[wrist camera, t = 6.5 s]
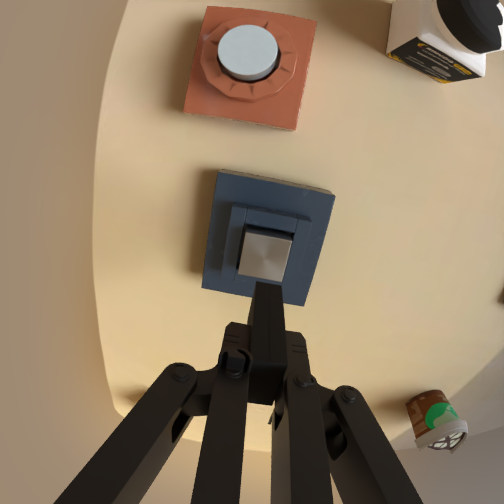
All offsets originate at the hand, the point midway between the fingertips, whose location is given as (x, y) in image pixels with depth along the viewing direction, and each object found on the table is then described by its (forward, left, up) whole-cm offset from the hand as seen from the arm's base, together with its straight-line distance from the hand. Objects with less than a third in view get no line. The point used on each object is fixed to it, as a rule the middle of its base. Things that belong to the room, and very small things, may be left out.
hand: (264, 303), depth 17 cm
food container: (+2, +40, -12) cm, 42 cm away
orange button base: (-11, -11, -12) cm, 20 cm away
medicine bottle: (-26, -2, -12) cm, 29 cm away
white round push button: (-11, -11, -7) cm, 17 cm away
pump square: (0, 0, -8) cm, 8 cm away
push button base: (0, 0, -12) cm, 12 cm away
